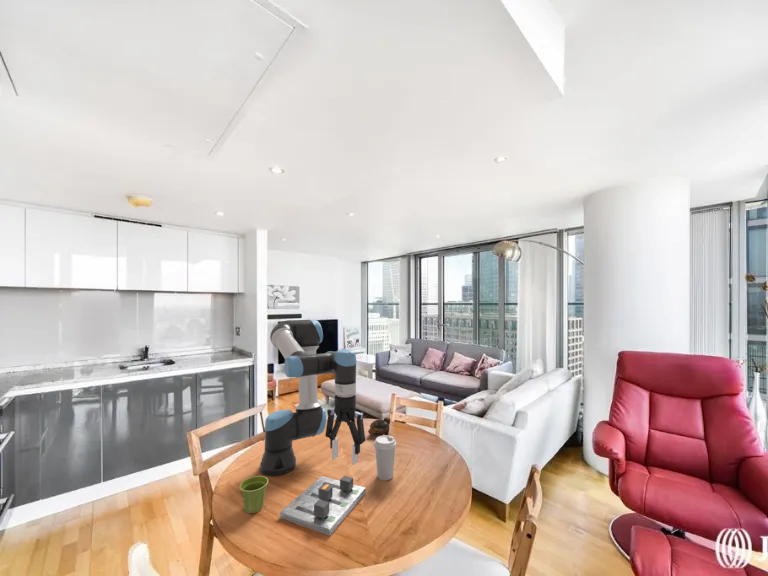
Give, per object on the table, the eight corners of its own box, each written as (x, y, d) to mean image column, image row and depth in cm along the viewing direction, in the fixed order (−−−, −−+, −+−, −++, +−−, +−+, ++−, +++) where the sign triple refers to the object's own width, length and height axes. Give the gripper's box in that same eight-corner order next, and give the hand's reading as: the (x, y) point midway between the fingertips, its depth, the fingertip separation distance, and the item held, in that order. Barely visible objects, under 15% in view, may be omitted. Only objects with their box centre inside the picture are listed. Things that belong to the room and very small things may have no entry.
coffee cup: (394, 483, 125) (394, 445, 126) (371, 481, 127) (371, 443, 128) (398, 471, 135) (398, 435, 135) (376, 468, 136) (376, 433, 137)
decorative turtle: (395, 432, 175) (395, 418, 175) (376, 442, 164) (376, 427, 164) (383, 426, 182) (383, 413, 182) (364, 436, 171) (364, 422, 171)
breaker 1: (318, 498, 112) (318, 487, 112) (323, 493, 114) (323, 483, 115) (327, 501, 110) (327, 490, 110) (332, 496, 113) (332, 485, 113)
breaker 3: (339, 489, 117) (340, 479, 117) (344, 484, 120) (344, 475, 120) (349, 491, 116) (349, 482, 116) (353, 487, 118) (353, 477, 119)
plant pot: (250, 521, 104) (250, 494, 104) (233, 511, 109) (233, 485, 109) (273, 505, 112) (273, 480, 112) (256, 497, 117) (257, 473, 117)
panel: (280, 517, 105) (280, 511, 105) (322, 481, 127) (322, 475, 127) (329, 535, 97) (329, 528, 97) (365, 493, 119) (365, 487, 119)
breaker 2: (313, 515, 103) (313, 504, 103) (319, 510, 105) (319, 499, 106) (323, 518, 101) (324, 507, 101) (329, 513, 104) (329, 502, 104)
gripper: (315, 393, 112) (314, 459, 110) (366, 401, 103) (365, 472, 102) (327, 388, 118) (326, 450, 117) (375, 395, 110) (375, 461, 109)
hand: (344, 460), depth 110 cm, fingers open, 8 cm apart
